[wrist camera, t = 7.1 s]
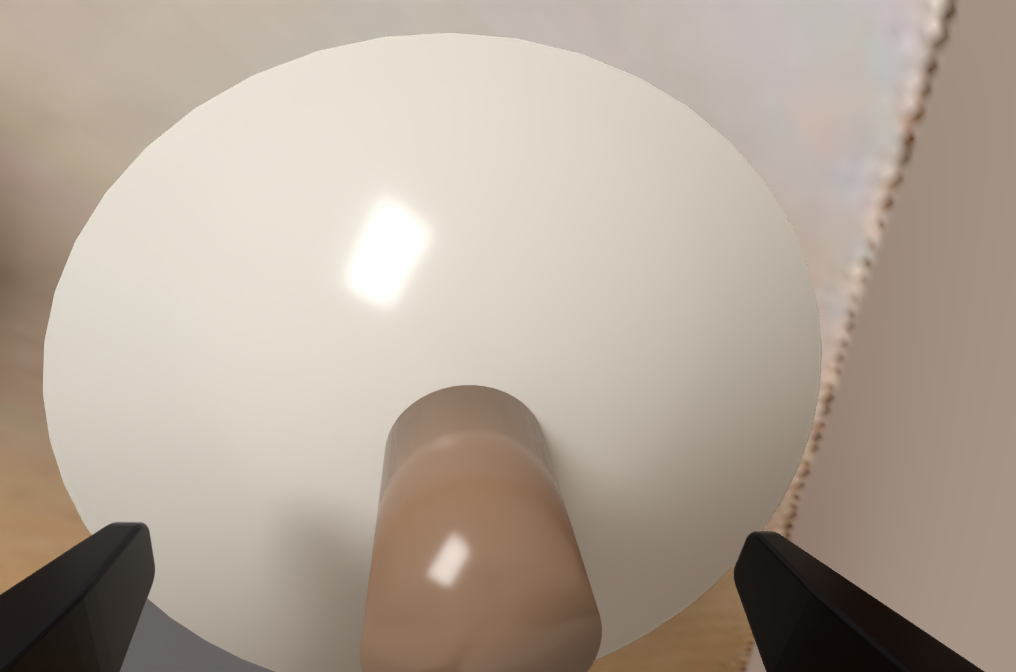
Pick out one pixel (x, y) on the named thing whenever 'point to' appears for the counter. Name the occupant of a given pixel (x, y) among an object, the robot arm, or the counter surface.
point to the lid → (434, 359)
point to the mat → (176, 648)
